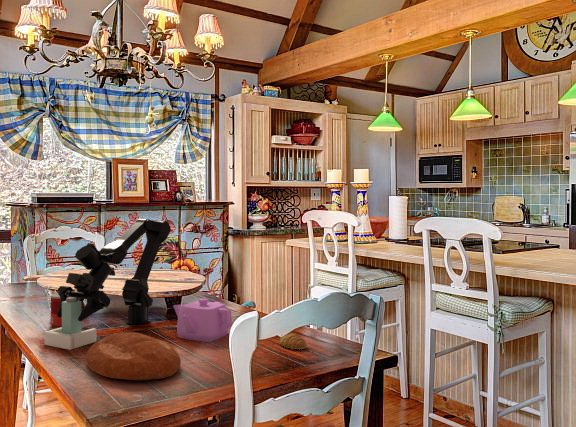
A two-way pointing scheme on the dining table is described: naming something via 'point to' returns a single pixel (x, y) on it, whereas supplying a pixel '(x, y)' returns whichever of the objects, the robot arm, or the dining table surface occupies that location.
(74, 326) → the post
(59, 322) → the canned food
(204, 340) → the teakettle
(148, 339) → the bread
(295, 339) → the pastry
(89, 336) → the cradle
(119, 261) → the robot arm
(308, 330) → the dining table surface
